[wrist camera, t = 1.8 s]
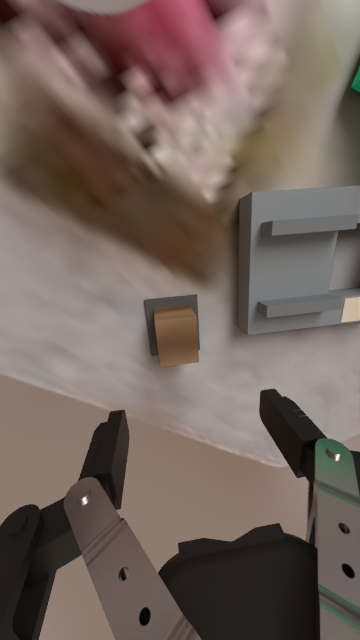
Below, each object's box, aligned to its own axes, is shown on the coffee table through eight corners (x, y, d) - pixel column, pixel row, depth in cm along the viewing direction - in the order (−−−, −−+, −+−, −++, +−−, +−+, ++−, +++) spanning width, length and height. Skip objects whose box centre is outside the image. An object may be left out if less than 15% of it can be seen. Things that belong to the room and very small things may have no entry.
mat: (144, 299, 24) (144, 300, 24) (196, 294, 25) (196, 295, 24) (151, 354, 27) (151, 355, 26) (199, 348, 27) (199, 349, 27)
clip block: (154, 308, 24) (154, 321, 20) (188, 304, 25) (196, 316, 20) (159, 347, 26) (160, 367, 22) (191, 343, 26) (198, 362, 22)
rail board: (239, 199, 22) (269, 182, 16) (397, 188, 24) (474, 170, 18) (237, 325, 27) (260, 347, 21) (369, 310, 28) (423, 326, 23)
